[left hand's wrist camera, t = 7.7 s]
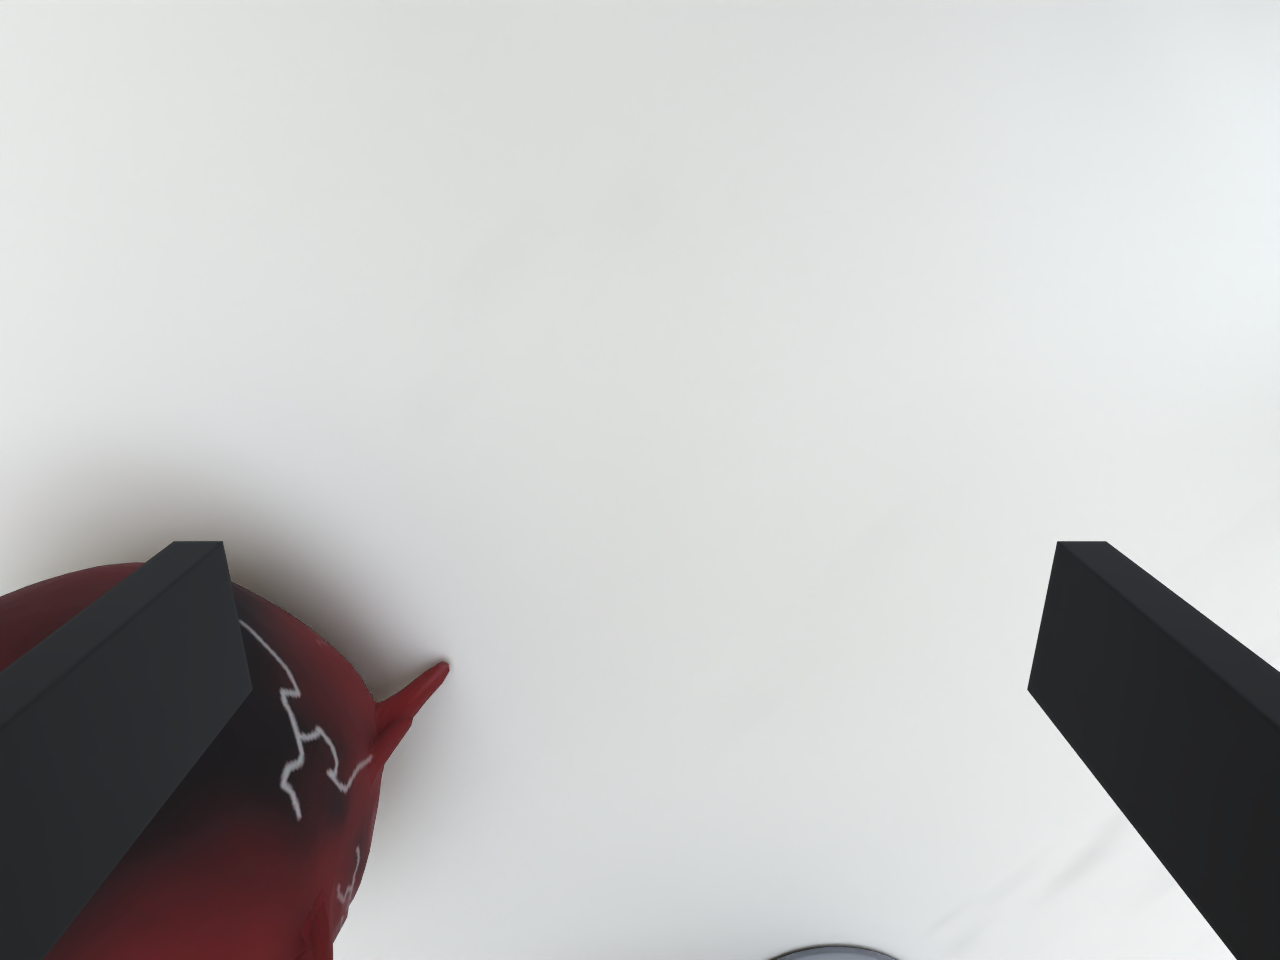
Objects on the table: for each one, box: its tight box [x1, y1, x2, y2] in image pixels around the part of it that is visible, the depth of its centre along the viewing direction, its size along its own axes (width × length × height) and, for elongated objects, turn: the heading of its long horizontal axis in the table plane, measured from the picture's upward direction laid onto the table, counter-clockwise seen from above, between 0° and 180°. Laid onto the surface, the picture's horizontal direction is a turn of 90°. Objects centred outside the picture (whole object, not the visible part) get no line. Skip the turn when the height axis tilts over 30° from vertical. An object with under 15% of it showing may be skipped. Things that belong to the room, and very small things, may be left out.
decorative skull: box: [0, 563, 449, 960], centre depth 37 cm, size 21×24×25 cm
